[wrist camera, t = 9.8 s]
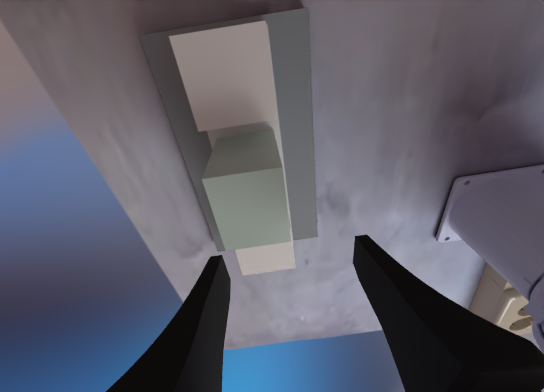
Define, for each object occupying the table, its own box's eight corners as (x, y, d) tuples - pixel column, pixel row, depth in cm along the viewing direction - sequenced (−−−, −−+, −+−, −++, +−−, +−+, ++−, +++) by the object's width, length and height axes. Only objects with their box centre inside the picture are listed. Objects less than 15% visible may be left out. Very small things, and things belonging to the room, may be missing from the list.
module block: (273, 129, 17) (282, 167, 12) (281, 189, 19) (291, 241, 14) (216, 138, 17) (201, 179, 12) (232, 197, 19) (225, 251, 14)
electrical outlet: (611, 237, 23) (541, 332, 32) (564, 212, 26) (514, 304, 36) (532, 254, 23) (487, 342, 33) (496, 227, 27) (465, 314, 36)
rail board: (304, 9, 15) (325, -4, 11) (315, 230, 24) (327, 267, 20) (145, 35, 15) (104, 32, 11) (219, 244, 25) (212, 284, 20)
